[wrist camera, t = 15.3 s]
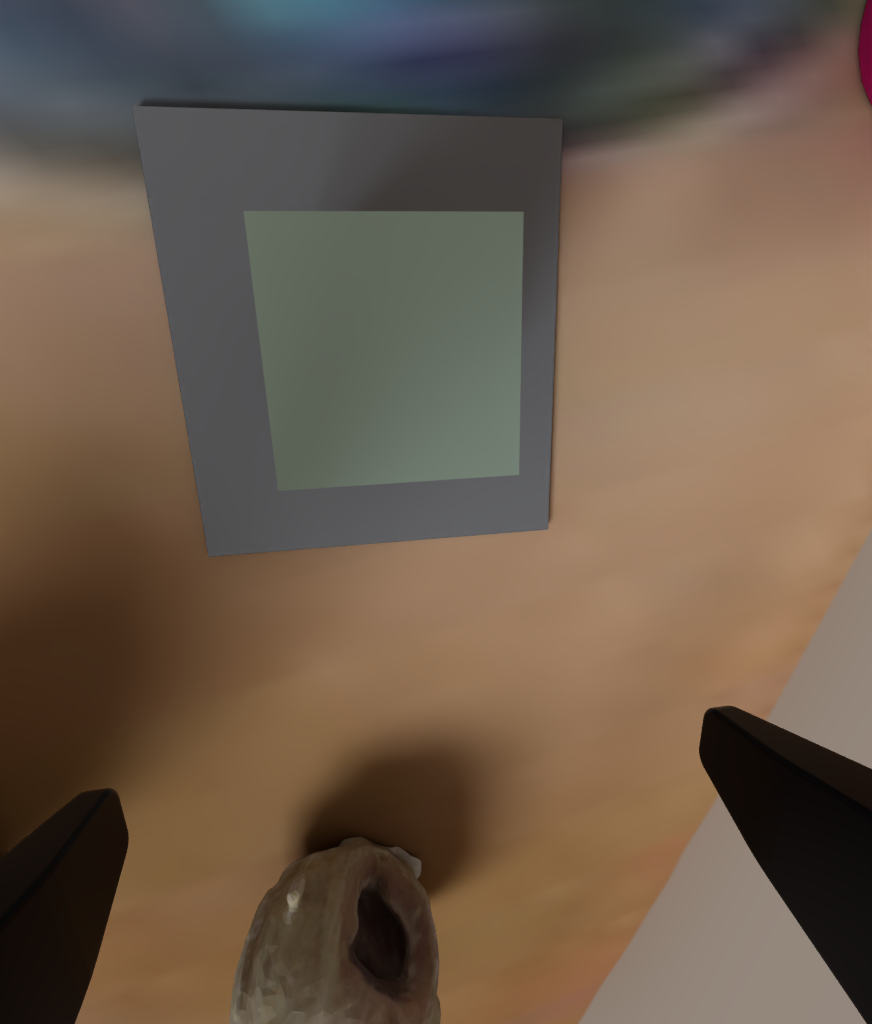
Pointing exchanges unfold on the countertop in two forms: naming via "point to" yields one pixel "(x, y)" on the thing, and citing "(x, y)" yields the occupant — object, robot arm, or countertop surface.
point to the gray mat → (232, 314)
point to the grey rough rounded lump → (341, 943)
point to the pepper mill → (866, 50)
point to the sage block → (389, 343)
